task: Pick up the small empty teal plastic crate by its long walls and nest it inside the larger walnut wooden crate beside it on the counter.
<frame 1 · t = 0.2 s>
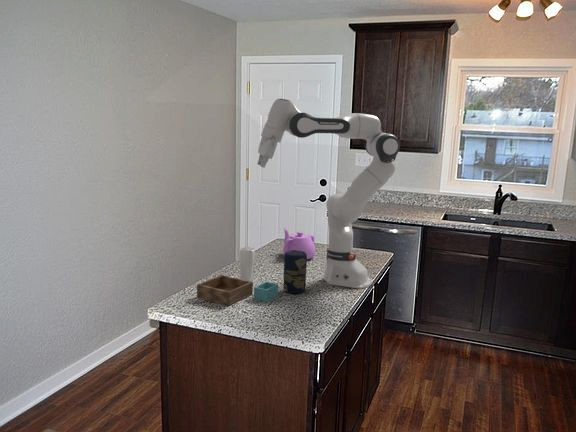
hand: (260, 166, 213), 52 cm above the countertop, tool tilted 20°, fingers open, 8 cm apart
teapot: (296, 256, 267), on the countertop
white cup: (246, 281, 223), on the countertop
canister: (294, 291, 212), on the countertop
walnut crate: (225, 296, 203), on the countertop
teal crate: (266, 297, 204), on the countertop
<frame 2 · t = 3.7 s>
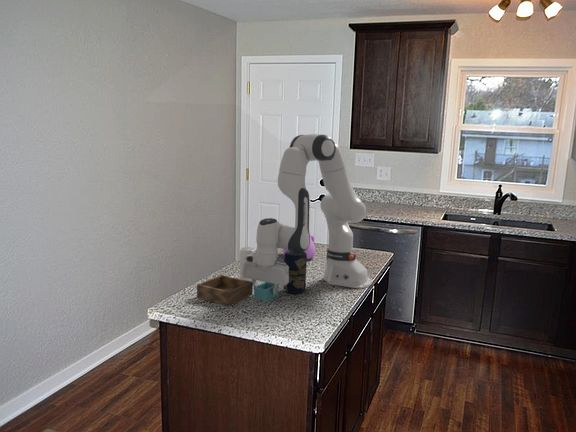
hand: (264, 291, 203), 2 cm above the countertop, tool pointing down, fingers open, 7 cm apart
nothing on the countertop moved.
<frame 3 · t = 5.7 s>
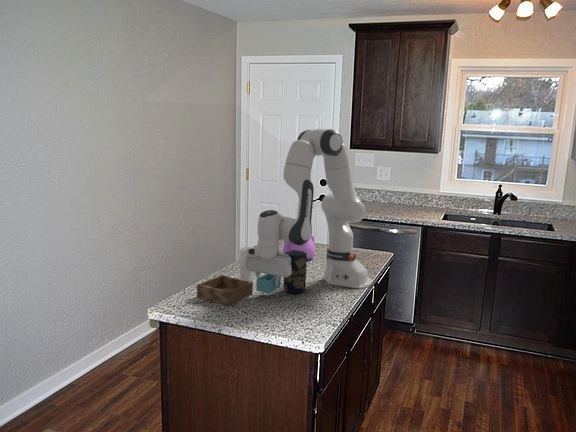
hand: (268, 283, 203), 6 cm above the countertop, tool pointing down, fingers closed on teal crate, 6 cm apart
teal crate: (268, 288, 204), point 3 cm above the countertop, touching gripper
everything else where it was.
when the fingers open (4 cm above the countertop, at t = 10.9 s): teal crate stays where it is, resting on walnut crate.
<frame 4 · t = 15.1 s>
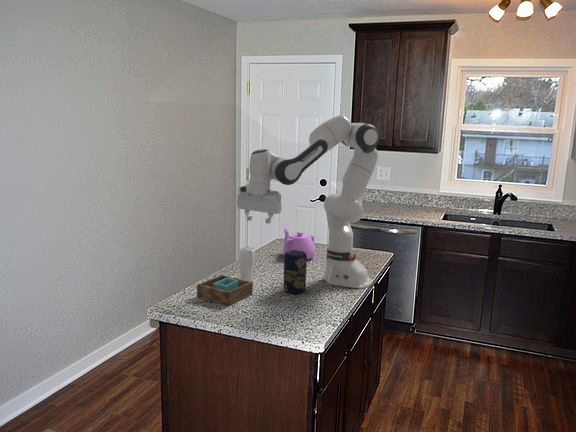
hand: (258, 221, 209), 29 cm above the countertop, tool pointing down, fingers open, 8 cm apart
teal crate: (225, 293, 203), point 1 cm above the countertop, touching walnut crate
everything else where it was.
at the end: teal crate 0.5 cm off-centre on the walnut crate, point 1.0 cm above the walnut crate's base; teal crate tilted 0°; the gripper is holding nothing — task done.
